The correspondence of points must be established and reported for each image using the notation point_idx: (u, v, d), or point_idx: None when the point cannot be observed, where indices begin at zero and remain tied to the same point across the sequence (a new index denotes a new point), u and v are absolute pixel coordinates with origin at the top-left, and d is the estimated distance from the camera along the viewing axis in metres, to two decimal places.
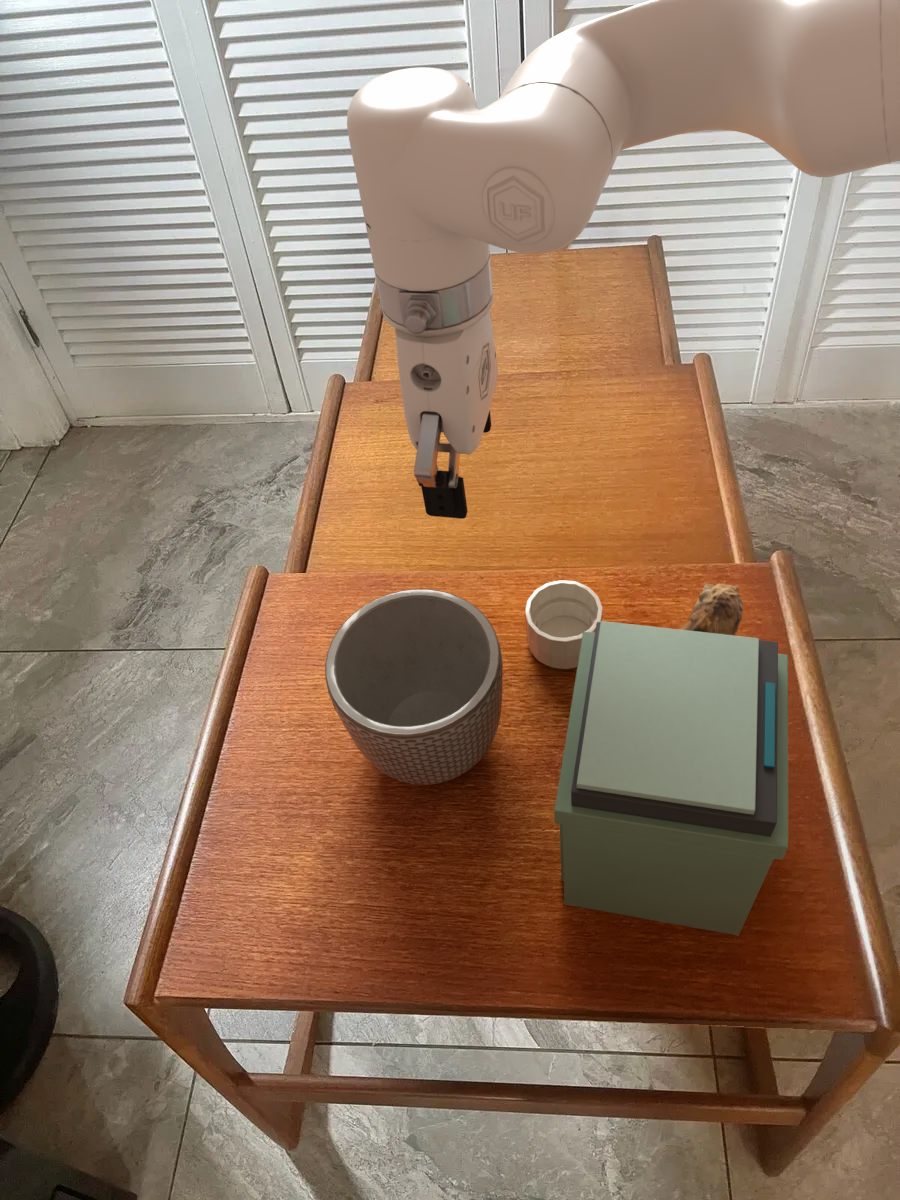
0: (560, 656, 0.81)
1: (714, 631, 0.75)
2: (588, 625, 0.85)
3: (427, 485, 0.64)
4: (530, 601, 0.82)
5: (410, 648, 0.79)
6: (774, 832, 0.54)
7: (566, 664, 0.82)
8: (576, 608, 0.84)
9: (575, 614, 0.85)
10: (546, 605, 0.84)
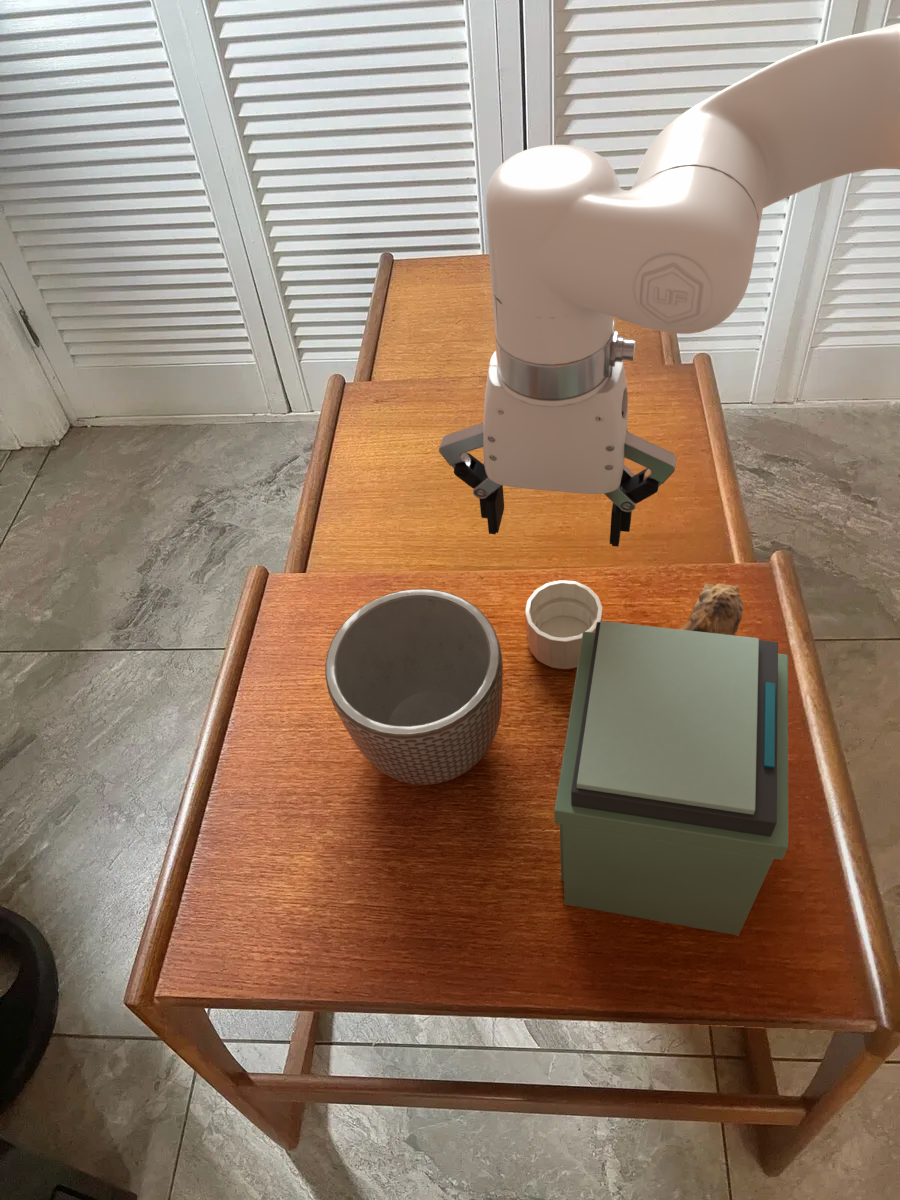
0: (560, 656, 0.81)
1: (714, 631, 0.75)
2: (588, 625, 0.85)
3: None
4: (530, 601, 0.82)
5: (410, 648, 0.79)
6: (774, 832, 0.54)
7: (566, 664, 0.82)
8: (576, 608, 0.84)
9: (575, 614, 0.85)
10: (546, 605, 0.84)
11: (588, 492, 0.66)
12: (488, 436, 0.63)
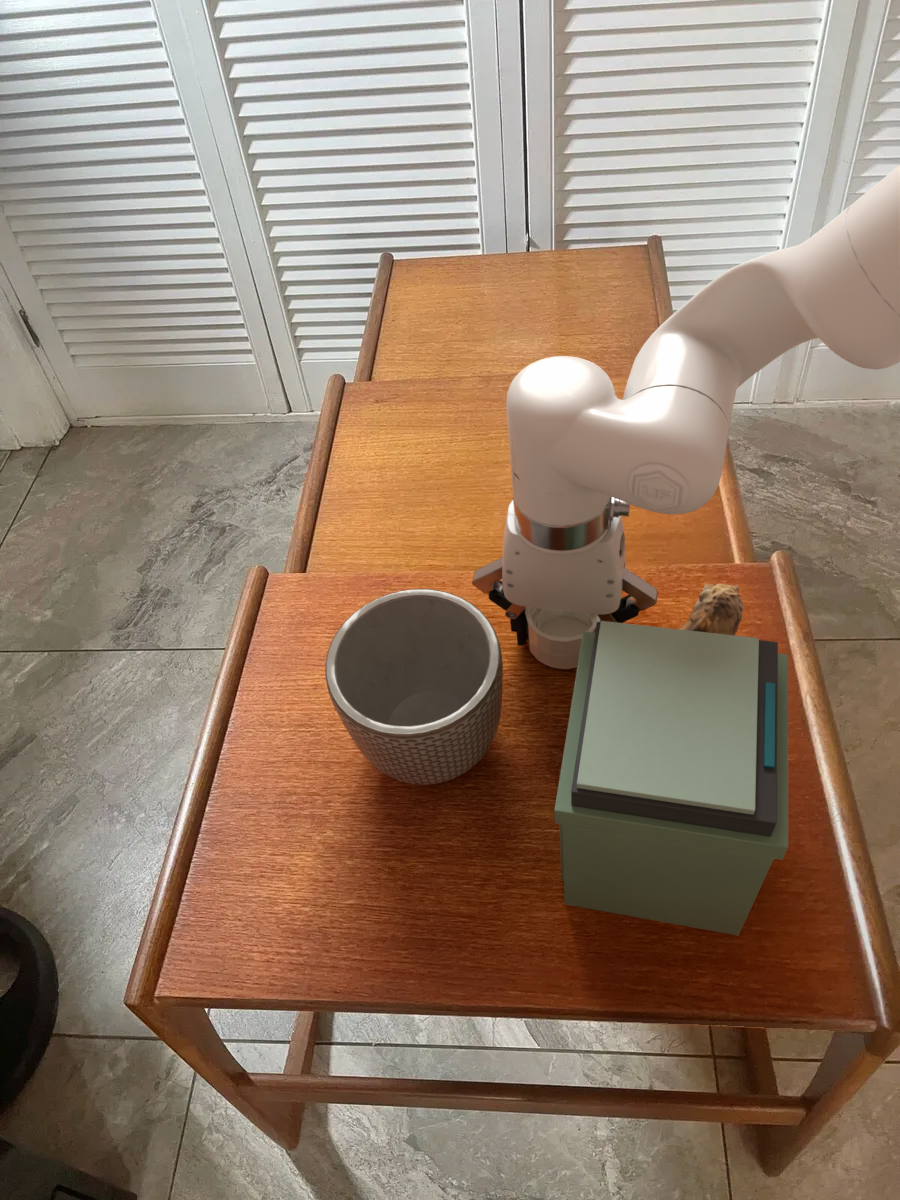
0: (560, 656, 0.81)
1: (714, 631, 0.75)
2: (588, 625, 0.85)
3: None
4: None
5: (410, 648, 0.79)
6: (774, 832, 0.54)
7: (566, 664, 0.82)
8: None
9: (575, 614, 0.85)
10: None
11: (591, 613, 0.77)
12: (506, 569, 0.75)
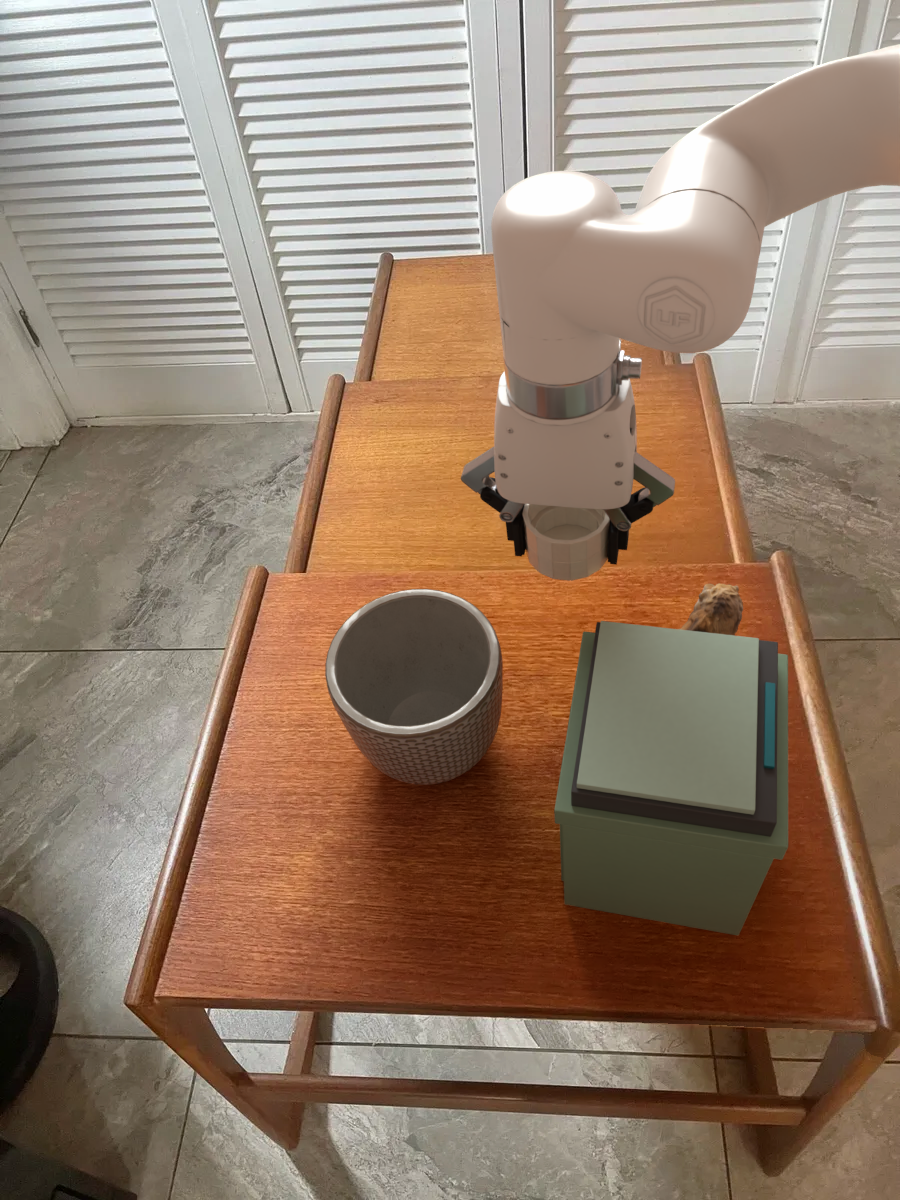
0: (563, 564, 0.70)
1: (714, 631, 0.75)
2: None
3: None
4: None
5: (410, 648, 0.79)
6: (774, 832, 0.54)
7: (570, 574, 0.71)
8: (581, 513, 0.74)
9: (580, 522, 0.75)
10: (547, 510, 0.74)
11: (598, 507, 0.67)
12: (499, 454, 0.65)
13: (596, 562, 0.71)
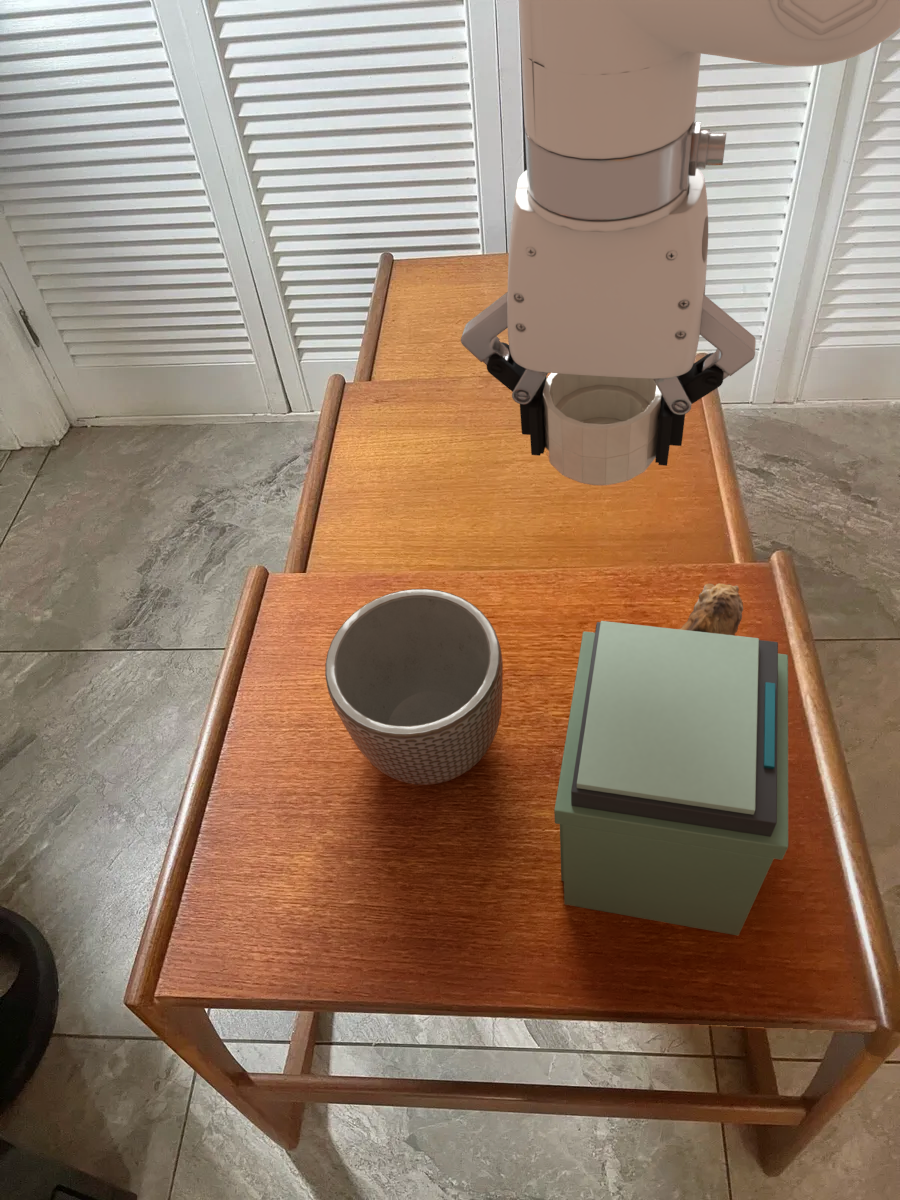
0: (597, 460, 0.52)
1: (714, 631, 0.75)
2: None
3: None
4: (551, 379, 0.53)
5: (410, 648, 0.79)
6: (774, 832, 0.54)
7: (605, 475, 0.53)
8: (620, 399, 0.56)
9: (617, 412, 0.57)
10: (575, 395, 0.56)
11: (649, 376, 0.48)
12: (514, 294, 0.46)
13: (640, 460, 0.53)
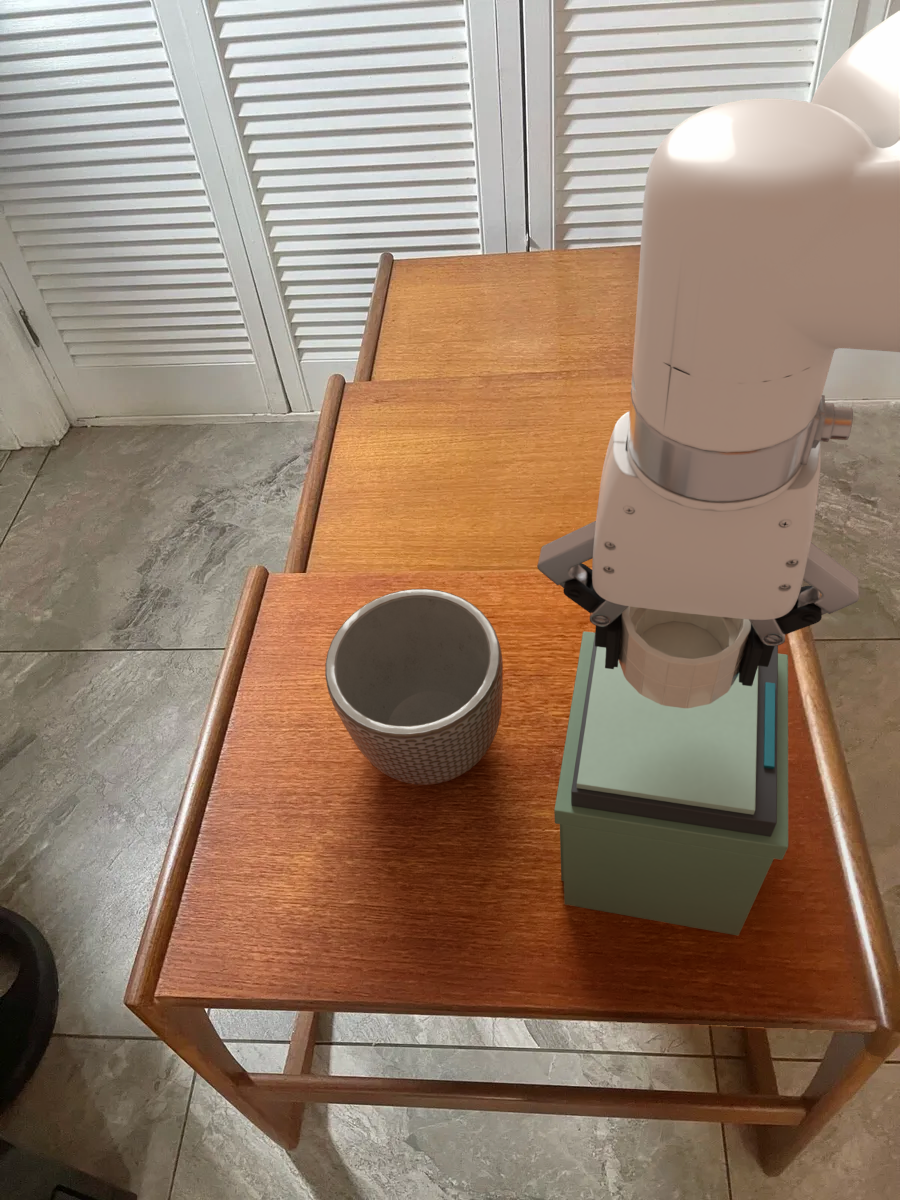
0: (681, 688, 0.49)
1: None
2: (717, 636, 0.53)
3: None
4: None
5: (410, 648, 0.79)
6: (774, 832, 0.54)
7: (688, 701, 0.50)
8: None
9: (694, 619, 0.54)
10: None
11: (744, 617, 0.45)
12: (605, 542, 0.43)
13: (725, 684, 0.50)
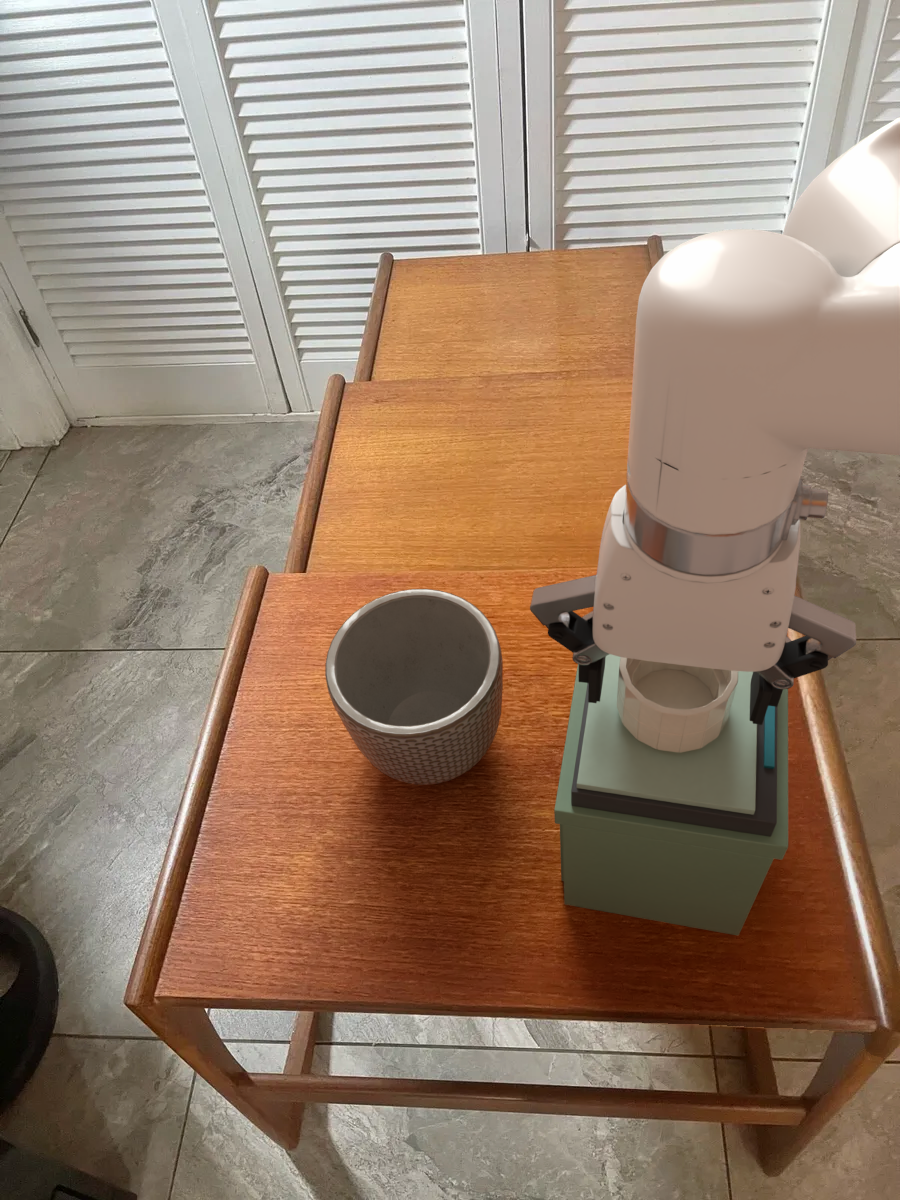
0: (673, 735, 0.53)
1: None
2: (708, 684, 0.57)
3: None
4: None
5: (410, 648, 0.79)
6: (774, 832, 0.54)
7: (681, 746, 0.54)
8: None
9: (686, 667, 0.58)
10: None
11: (733, 669, 0.49)
12: (604, 603, 0.47)
13: (715, 731, 0.54)
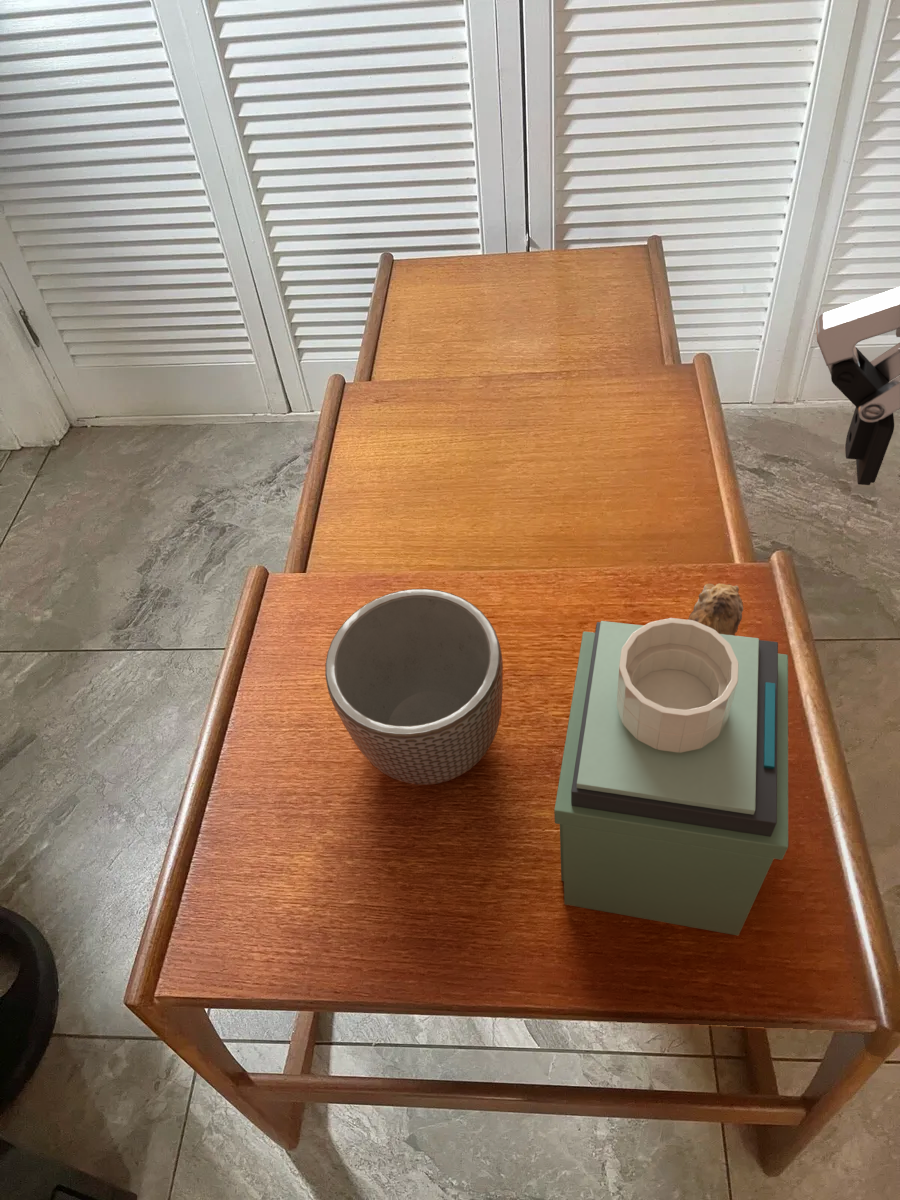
0: (673, 735, 0.53)
1: None
2: (708, 684, 0.57)
3: None
4: (627, 650, 0.54)
5: (410, 648, 0.79)
6: (774, 832, 0.54)
7: (681, 746, 0.54)
8: (690, 659, 0.57)
9: (686, 667, 0.58)
10: (646, 655, 0.57)
11: None
12: None
13: (715, 731, 0.54)
